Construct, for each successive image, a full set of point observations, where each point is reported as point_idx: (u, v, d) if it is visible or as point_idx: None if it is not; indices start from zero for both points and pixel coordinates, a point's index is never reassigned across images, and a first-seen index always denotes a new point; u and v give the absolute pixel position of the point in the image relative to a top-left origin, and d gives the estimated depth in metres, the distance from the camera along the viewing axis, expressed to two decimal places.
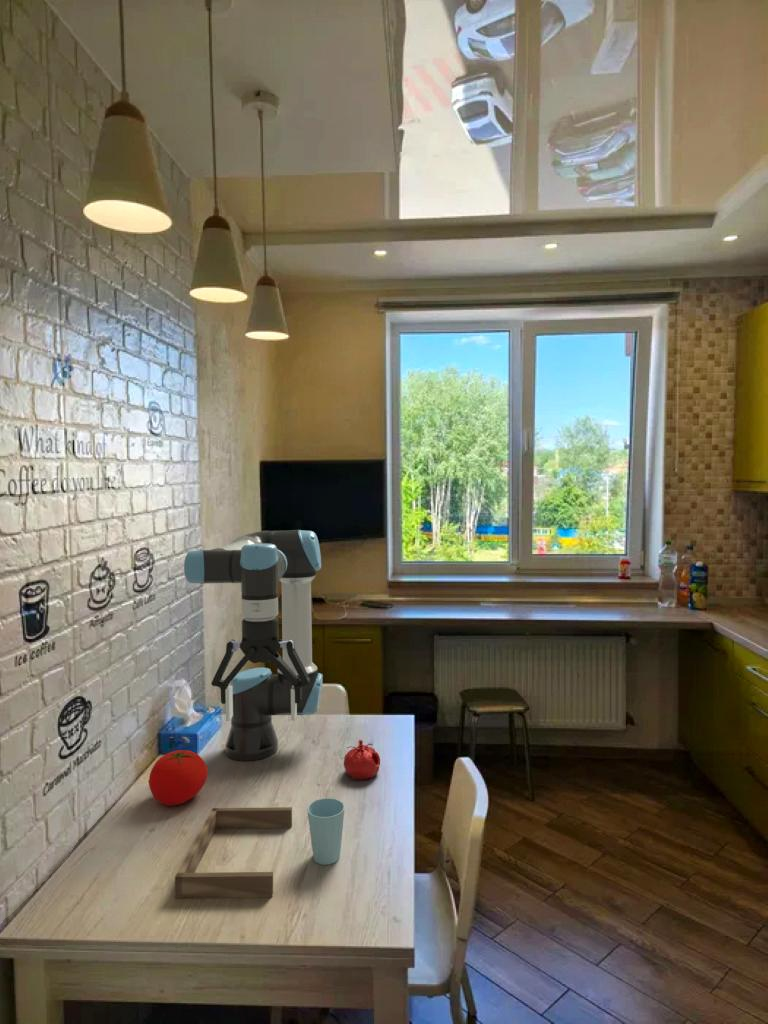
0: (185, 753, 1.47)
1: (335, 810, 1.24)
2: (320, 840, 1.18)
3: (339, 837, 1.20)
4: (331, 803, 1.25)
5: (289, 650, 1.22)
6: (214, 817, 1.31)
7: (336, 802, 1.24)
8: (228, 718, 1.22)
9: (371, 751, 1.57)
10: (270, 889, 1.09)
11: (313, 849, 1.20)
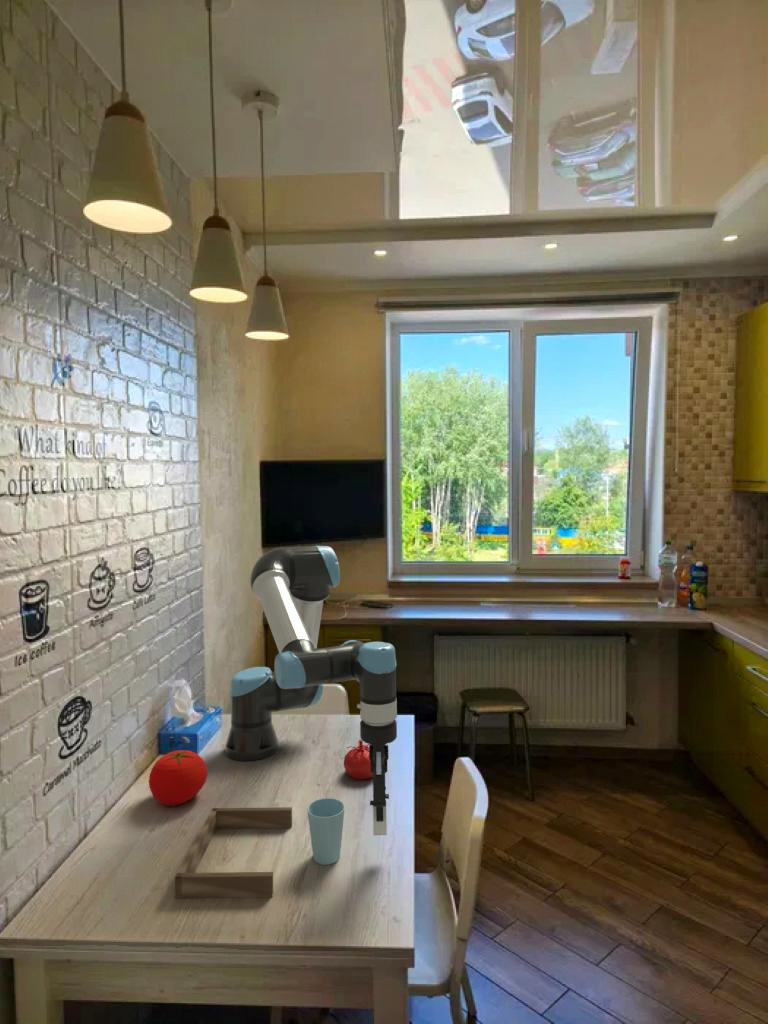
0: (185, 753, 1.47)
1: (335, 810, 1.24)
2: (320, 840, 1.18)
3: (339, 837, 1.20)
4: (331, 803, 1.25)
5: None
6: (214, 817, 1.31)
7: (336, 802, 1.24)
8: None
9: None
10: (270, 889, 1.09)
11: (313, 849, 1.20)
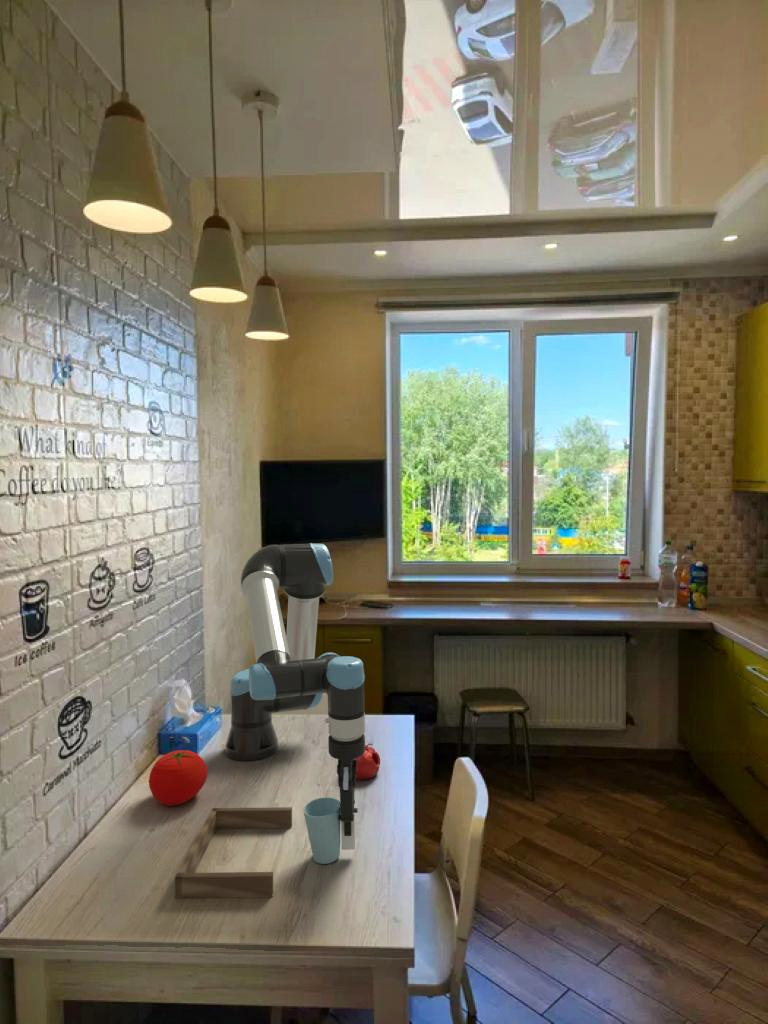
0: (185, 753, 1.47)
1: (332, 808, 1.24)
2: (318, 840, 1.18)
3: (337, 835, 1.20)
4: (328, 802, 1.25)
5: None
6: (214, 817, 1.31)
7: (332, 801, 1.24)
8: None
9: (371, 751, 1.57)
10: (270, 889, 1.09)
11: (312, 849, 1.20)
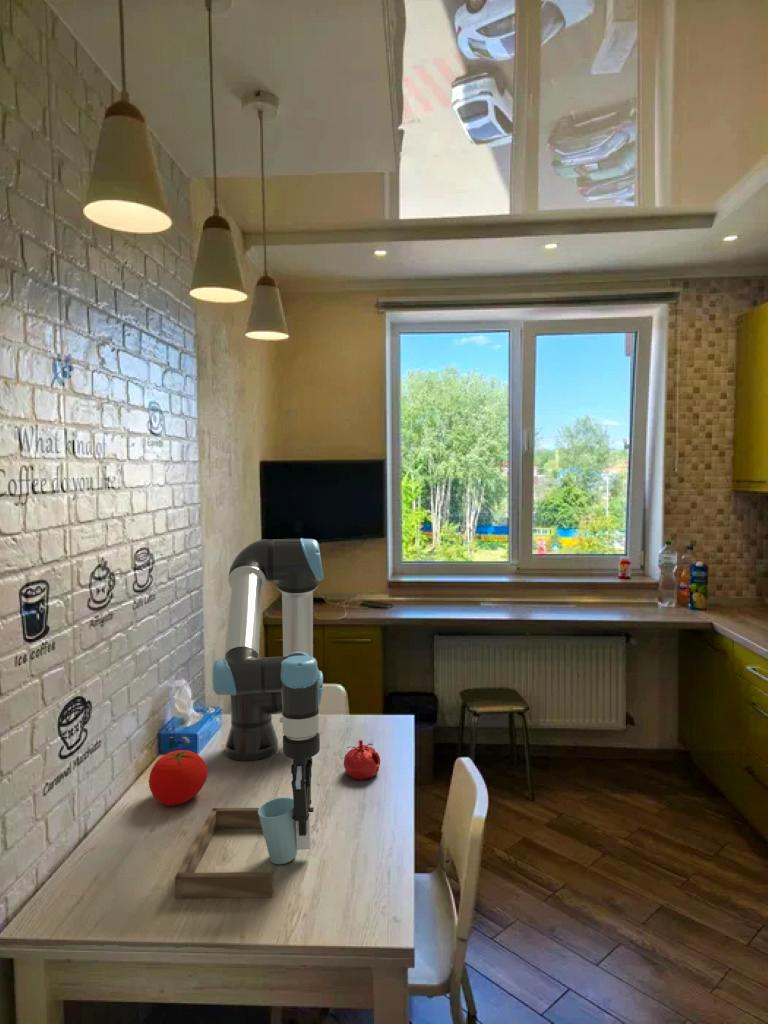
0: (185, 753, 1.47)
1: (289, 808, 1.24)
2: (273, 840, 1.18)
3: (292, 835, 1.20)
4: (284, 802, 1.24)
5: None
6: (214, 817, 1.31)
7: (288, 801, 1.24)
8: None
9: (371, 751, 1.57)
10: (270, 889, 1.09)
11: (268, 850, 1.20)
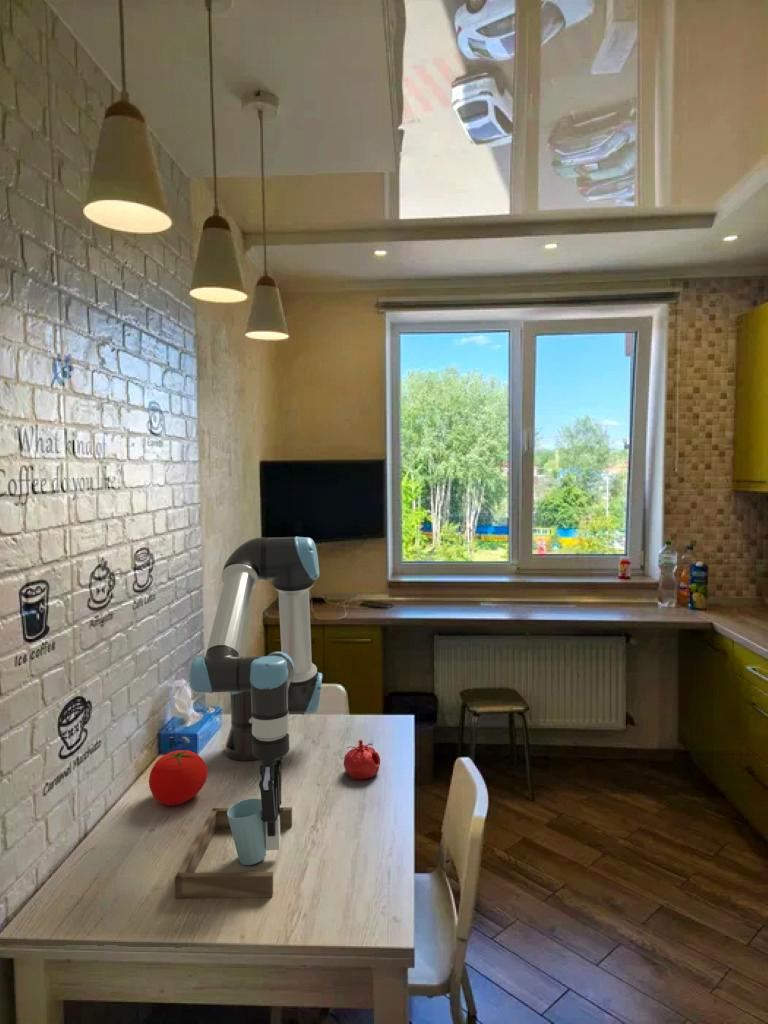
0: (185, 753, 1.47)
1: (258, 809, 1.24)
2: (241, 841, 1.18)
3: (261, 836, 1.20)
4: (254, 803, 1.24)
5: None
6: (214, 817, 1.31)
7: (258, 801, 1.24)
8: None
9: (371, 751, 1.57)
10: (270, 889, 1.09)
11: (237, 851, 1.20)
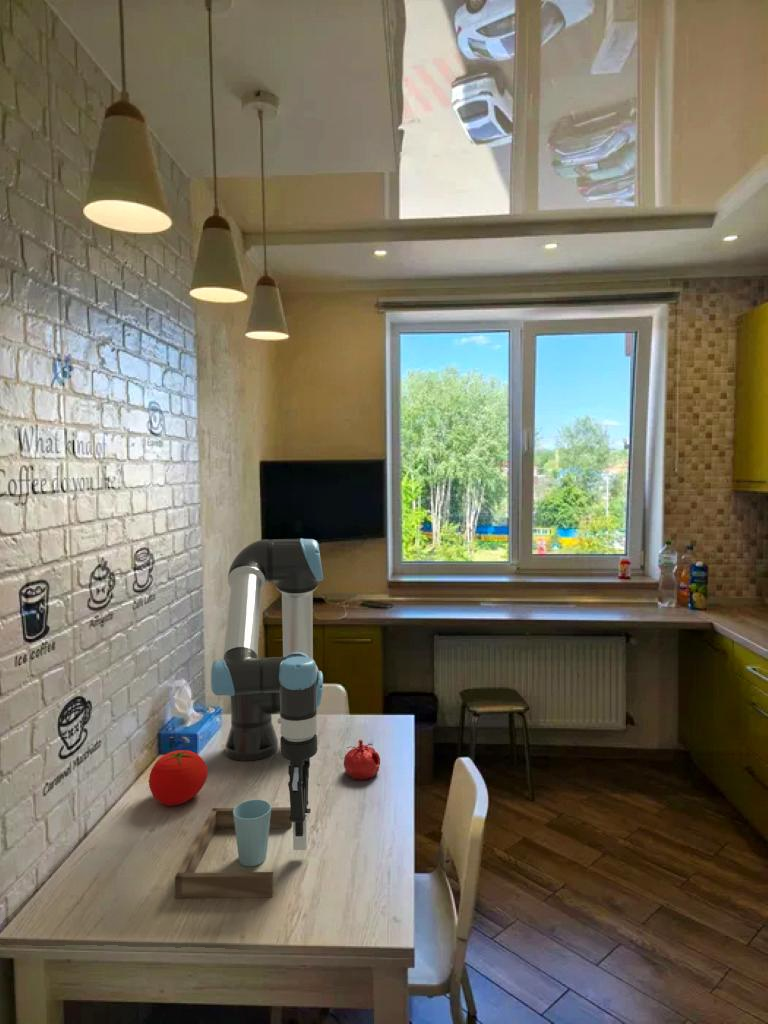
0: (185, 753, 1.47)
1: (263, 811, 1.24)
2: (244, 842, 1.18)
3: (264, 838, 1.20)
4: (259, 804, 1.24)
5: None
6: (214, 817, 1.31)
7: (264, 803, 1.24)
8: None
9: (371, 751, 1.57)
10: (270, 889, 1.09)
11: (238, 851, 1.20)
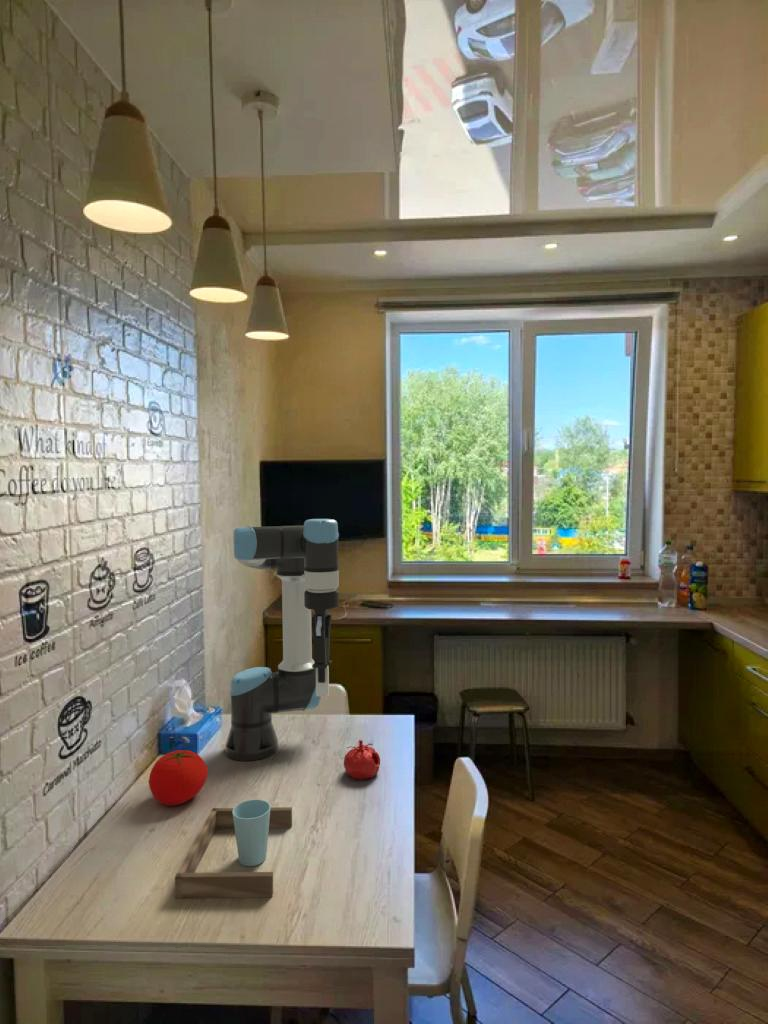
0: (185, 753, 1.47)
1: (263, 811, 1.24)
2: (244, 842, 1.18)
3: (264, 838, 1.20)
4: (258, 804, 1.24)
5: (313, 633, 1.25)
6: (214, 817, 1.31)
7: (263, 803, 1.24)
8: None
9: (371, 751, 1.57)
10: (270, 889, 1.09)
11: (238, 851, 1.20)
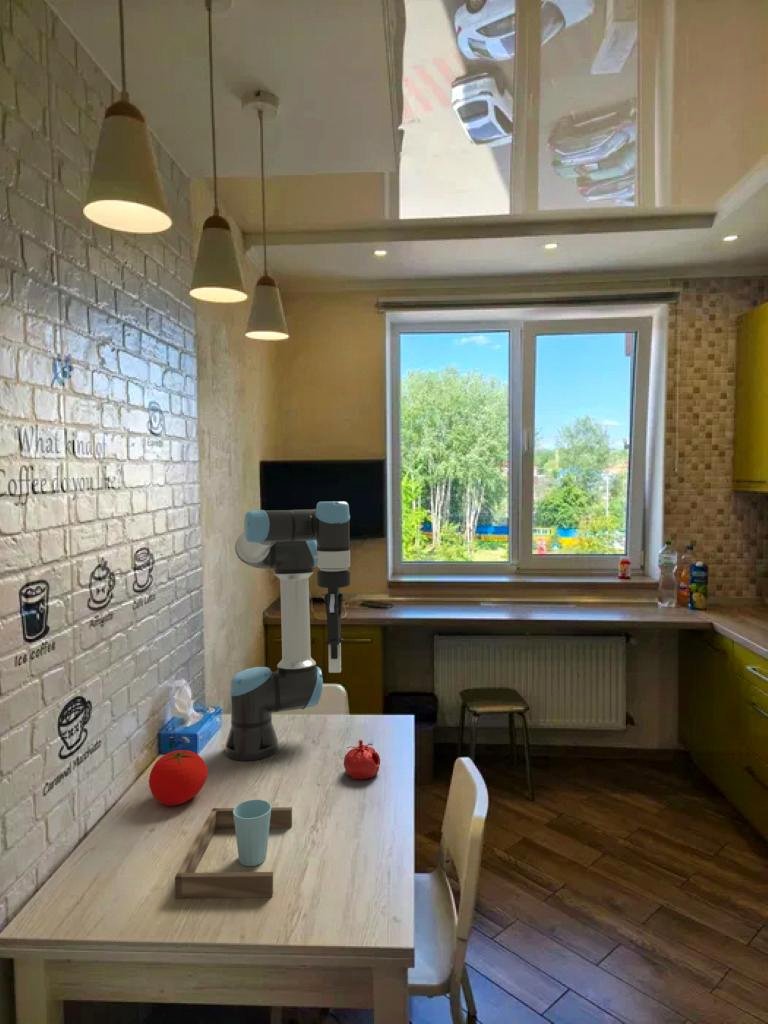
0: (185, 753, 1.47)
1: (263, 811, 1.24)
2: (245, 841, 1.18)
3: (265, 838, 1.20)
4: (259, 804, 1.25)
5: (326, 610, 1.29)
6: (214, 817, 1.31)
7: (264, 803, 1.24)
8: None
9: (371, 751, 1.57)
10: (270, 889, 1.09)
11: (238, 850, 1.20)
